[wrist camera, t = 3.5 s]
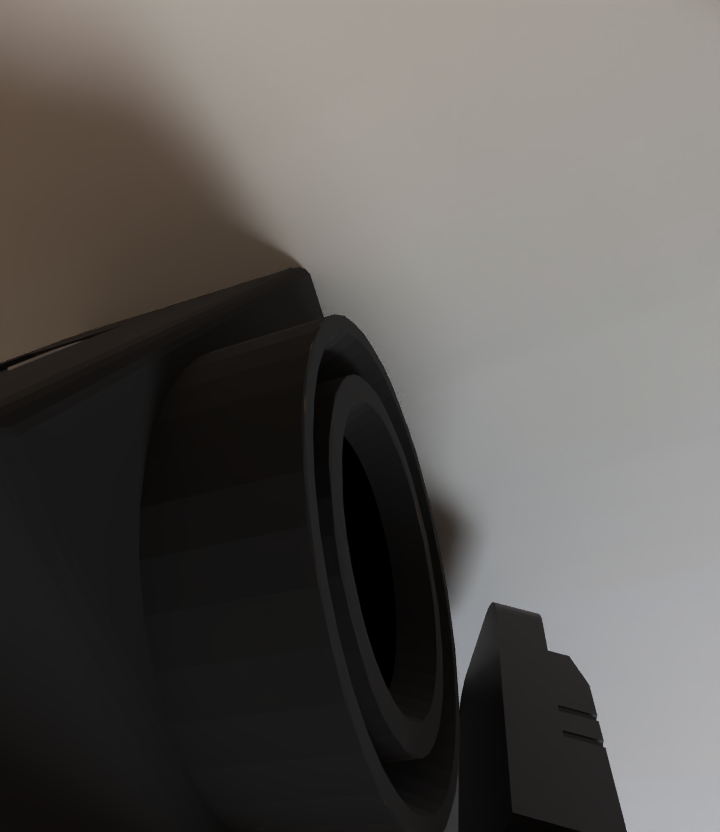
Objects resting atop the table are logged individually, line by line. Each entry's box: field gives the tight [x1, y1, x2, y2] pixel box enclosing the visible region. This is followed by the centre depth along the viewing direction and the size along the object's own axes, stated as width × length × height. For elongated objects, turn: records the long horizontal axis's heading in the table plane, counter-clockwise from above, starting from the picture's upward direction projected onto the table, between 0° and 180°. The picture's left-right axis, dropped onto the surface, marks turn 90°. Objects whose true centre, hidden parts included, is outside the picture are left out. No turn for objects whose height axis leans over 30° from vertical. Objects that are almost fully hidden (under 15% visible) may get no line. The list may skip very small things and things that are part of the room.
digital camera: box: [0, 267, 460, 832], centre depth 8 cm, size 10×5×7 cm, turn 17°
